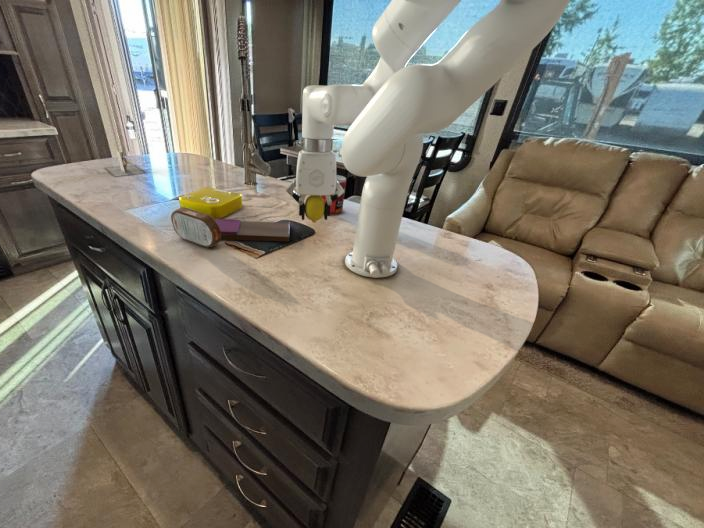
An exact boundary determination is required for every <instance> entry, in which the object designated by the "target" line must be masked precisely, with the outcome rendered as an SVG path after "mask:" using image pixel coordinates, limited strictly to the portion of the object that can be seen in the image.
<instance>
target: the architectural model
mask: <svg viewBox="0 0 704 528" xmlns="http://www.w3.org/2000/svg"><path fill="white" fill-rule="evenodd" d="M116 156H117V159H118V163H119V166H115V167H106V169H107V170H108V171H109V172H110V173H111V174H112V175H113V176H114V177H122V176H131V175H140V174H145V172H144V171H142V170H141V169H140V168H138V167H137V166H136V165H133V162H132V161H130V160H129V159H127V158H126V157H124V151H118V150H116Z"/></svg>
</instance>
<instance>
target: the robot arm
mask: <svg viewBox="0 0 704 528" xmlns="http://www.w3.org/2000/svg"><path fill="white" fill-rule="evenodd" d="M461 2H462V0H391V1H390V2H389V4H387V6H386V8H385V9H384V11H383V12H382V13H381V15H380V16H379V17H378V19H377V20H376V22H375V23H374V25H373V27H372V30H371V38H372V42H373V45H374V48H375V50H376V51H377V53H378V55H379V59H378V62H377V64H376V66H375V67H374V69H373V70H372V72H371V73H370V74H369V75H368V77H367V78H366V79H365V80H364V82H363V83H362V84H349V83H347V84H346V83H345V84H339V83H338V84H337V83H336V84H335V83H334V84H328V85H318V84H315V85H307V86H305V87H304V89H303V92H302V110H301V111H302V113H301V117H302V119H301V138H300V139H298V140H297V139H296V140H295V146H296V147H298V148H300V149H301V150H299V151H298V155H297V161H296V171H295V173H296V174H295V176H296V177H295V178H294V179H293V180H292V182H291V183H290V184H289V185H288V186H287V187H286V193H288V195H290V196H291V197H292V198H293V199H294V201H296V203H297V204H298V216H299V217H301V221H304V220H305V216H306V215H305V199H306V197H307V196H310V195H325V197H326V202H325V212H324V215H323V218H324V220H325V221H328V217H331V214H330V206H331V205H332V203H333V202H334V201H335V200H336V199H337V198H338V197H339V196H340V195H342V194H343V193H344V189H343V188H342V187H341V185H340V184H339V183H338V181H337V180H336V175H337V155H336V152H335V151H333V146H334V133H335V132H334V130H335V126H336V127H337V126H347V125H349V128H347V131H346V133H345V134H344V137H343V139H342V143H341V147H340V148H341V149H340V150H341V151H340V155H341V156H340V157H341V161H342V164H343V166H344V168H345V169H346V170H347V171H348V172H349V173H351V175H354V176H357V177H361V178H365V181H364V183H363V187H362V192H361V197H360V201H359V207H358V208H359V209H358V215H357V222H356V228H355V235H354V240H353V241H354V242H353V248H352V251H351V252H349V253H348V254H346V256H345V258H344V264H345V266H346V267H347V269H348V270H349V271H351V272H353V273H354V274H356V275H360V276H363V277H365V278H366V277H367V278H372V279H373V278H375V279H378V278H379V279H380V278H387V277H390V276H392V275H394V274H395V273H396V272H397V270H398V266H399V265H398V262H397V261H396V259H395V258H394V254H395V250H396V245H397V241H398V236H399V232H400V228H401V223H402V219H403V215H404V210H405V206H406V203H407V198H408V196H409V195H408V194H409V191H410V188H411V183H412V180H413V179H414V175H415V172H416V170H417V168H418V165H419V163H420V160H421V157H422V153H423V150H424V137H423V134H431V133H437V132H440V131H442V130H445V129H447V128H448V127H450V126H451V125H452V124H453V123H455V121H456V120H457V119H458V118H459V117H461V116H462V115H463V113H465V112H466V111H467V110H468V109H469V108H470V107H472V105H474V104H475V103H476V102H477V101H478V100H479V99H480V98H481V97H482V96H483V95H485V94H486V93H487V92H488V91H490V89H491V88H492V87H493V86H494V85H496V83H498V82H499V81H500V80H501V79H502V78H503V77H504V76H505V75H506V74H507V73H508V72H509V71H511V69H513V68H514V67H515V66H517V64H518V63H520V62H521V61H522V60H523V59H524V58H526V56H528V55H529V54H530V53H531V52H532V51H533V50H534V49H535V48H536V47H537V46H538V45H539V44H540V43H541V42H542V41H543V40H544V39H545V38H546V37H547V35H548V34H549V33H550V32H551V31H552V30H553V28H554V27H555V26H556V25H557V23H558V22H559V21H560V19H561V17H562V16H563V15H564V13H565V11H566V10H567V8H568V6H569V4H570V2H571V0H500V1H499V2H498V4H497V5H496V6H495V7H494V8H492V9H491V10H490V11H489V12H488V13H487V14H485V15H484V16H482V17H481V18H480V19H479V20H478V21H476V22H475V23H474V24H473V25H471V27H470V28H469V29H468V30H466V32H465V33H464V34H463V35H462V36H461V37H460V39H459V40H458V41H457V42H456V44H454V46H453V47H451V49H450V50H449V51H448V52H447V53H446V54H444V56H443V57H442V58H441V59H440V60H438V61H437V62H436V63H434V64H424V63H416V64H410V65H408V63H409V62H410V60H411V59H412V58H413V57H414V56H415V55H416V53H417V52H418V51H419V50H420V49H421V48H422V46H424V44H425V43H426V42H427V41H428V40H429V38H430V37H432V35H433V34H434V33H435V32H436V30H437V29H438V28H439V27H440V26H441V24H443V23H444V21H446V19H447V18H448V17H449V16H450V14H451V13H452V12H453V11H454V10H455V9H456V7H457V6H458V5H459V4H460V3H461ZM336 188H337V191H336V192H335V190H336ZM294 189H295V190H296V191H295V190H294ZM332 194H333V195H332ZM330 195H332V196H330Z"/></svg>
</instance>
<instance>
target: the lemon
mask: <svg viewBox="0 0 704 528" xmlns="http://www.w3.org/2000/svg"><path fill="white" fill-rule="evenodd" d="M305 199H306V200H305V201H304V203H305V216H306V218H307V219H308V220H309V221H311V222H312V223H317V221H320V220H321V219H322V218H324V212H325V203H324V200H323V198H322V197H321V196H320V195H308V197H307V198H305Z"/></svg>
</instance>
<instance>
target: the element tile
mask: <svg viewBox="0 0 704 528" xmlns="http://www.w3.org/2000/svg"><path fill="white" fill-rule="evenodd" d="M178 201H179V208H181V207H186V208H189V209H192V210H195V211H199V212H202V213H205V214H208V215H209V216H211V217H212V218H213V219H214V220H216V219H224V218H225V217H228V216H229V215H231V214H233V213H235V212H237V211H239V210H241V209H242V208H243V195H242V194H241V193H238V192H233V191H229V190H224V189H220V188H219V189H218V188H214V187H210V186H209V187H204V188H201V189H198V190H195V191H193V192H189V193H187V194H184V195H181V196H179V198H178Z"/></svg>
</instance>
